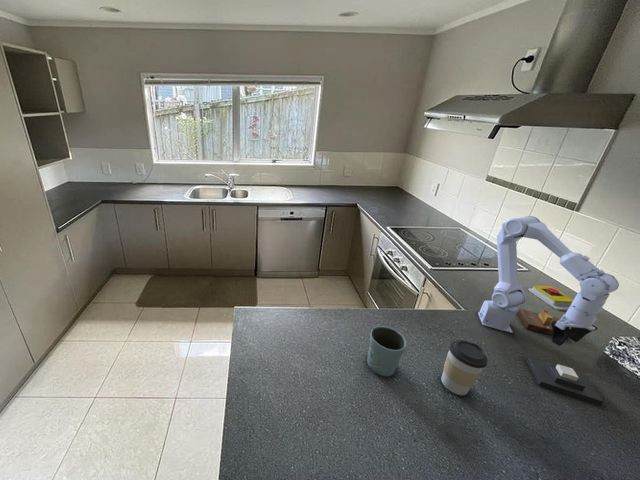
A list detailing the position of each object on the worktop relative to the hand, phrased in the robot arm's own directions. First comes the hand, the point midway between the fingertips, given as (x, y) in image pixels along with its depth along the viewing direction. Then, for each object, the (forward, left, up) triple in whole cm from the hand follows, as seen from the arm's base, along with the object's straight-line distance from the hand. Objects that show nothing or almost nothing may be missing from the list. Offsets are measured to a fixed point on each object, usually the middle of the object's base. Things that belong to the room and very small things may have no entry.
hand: (564, 341), depth 92 cm
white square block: (-2, -10, -5) cm, 12 cm away
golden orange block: (+3, +20, -6) cm, 21 cm away
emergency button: (+15, +45, -8) cm, 48 cm away
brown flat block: (+3, +20, -8) cm, 22 cm away
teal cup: (-54, -30, -8) cm, 62 cm away
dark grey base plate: (-2, -10, -8) cm, 13 cm away
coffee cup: (-33, -27, -8) cm, 43 cm away
